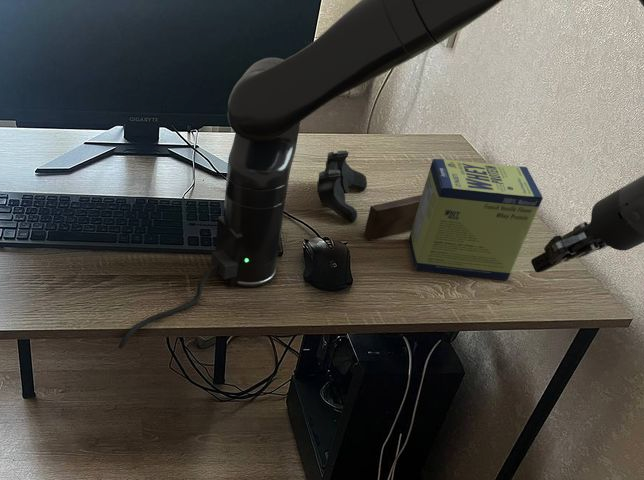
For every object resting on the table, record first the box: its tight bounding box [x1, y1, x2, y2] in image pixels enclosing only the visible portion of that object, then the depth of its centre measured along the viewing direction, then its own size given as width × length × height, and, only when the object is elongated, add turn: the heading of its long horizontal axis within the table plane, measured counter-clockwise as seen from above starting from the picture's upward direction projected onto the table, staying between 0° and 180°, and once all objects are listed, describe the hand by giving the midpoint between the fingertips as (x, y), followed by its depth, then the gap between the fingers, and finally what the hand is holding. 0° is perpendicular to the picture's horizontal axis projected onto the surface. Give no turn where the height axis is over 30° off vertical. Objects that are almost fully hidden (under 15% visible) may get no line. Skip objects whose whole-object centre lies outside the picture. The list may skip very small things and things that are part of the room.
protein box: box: [408, 158, 544, 281], centre depth 115 cm, size 10×16×16 cm
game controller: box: [316, 150, 368, 224], centre depth 131 cm, size 16×7×10 cm, turn 161°
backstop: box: [363, 194, 422, 241], centre depth 125 cm, size 20×2×6 cm, turn 115°
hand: (536, 266), depth 104 cm, fingers closed
